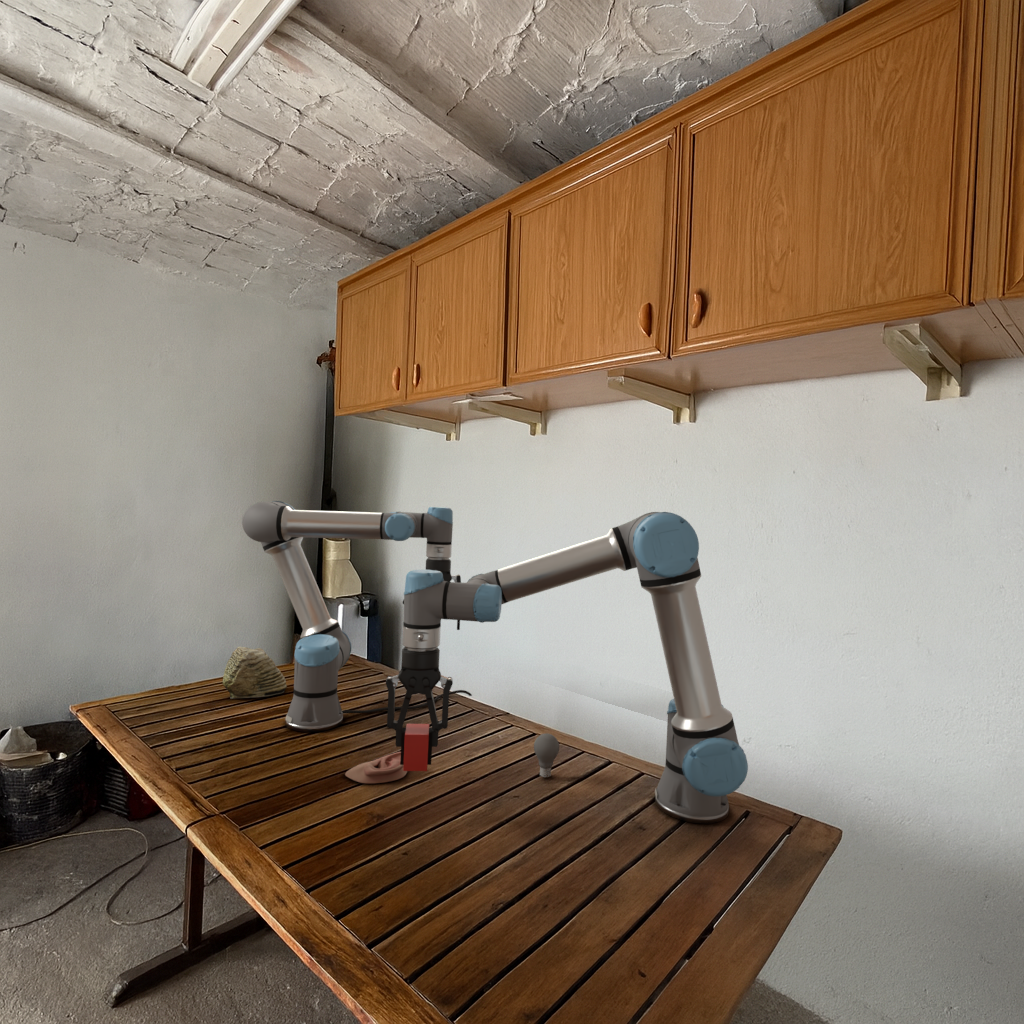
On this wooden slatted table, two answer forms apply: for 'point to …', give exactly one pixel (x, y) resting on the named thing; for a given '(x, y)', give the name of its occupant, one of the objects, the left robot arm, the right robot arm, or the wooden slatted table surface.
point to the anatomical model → (378, 770)
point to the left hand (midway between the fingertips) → (435, 628)
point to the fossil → (252, 674)
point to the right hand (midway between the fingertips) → (416, 761)
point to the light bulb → (546, 752)
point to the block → (416, 747)
